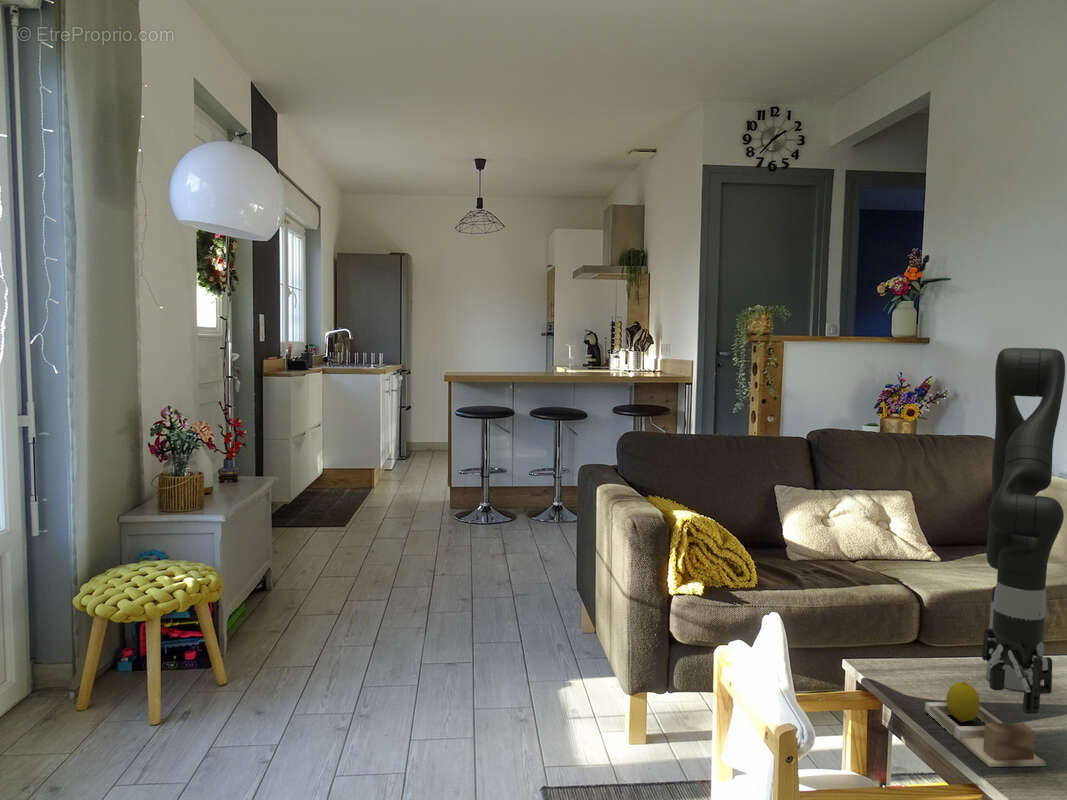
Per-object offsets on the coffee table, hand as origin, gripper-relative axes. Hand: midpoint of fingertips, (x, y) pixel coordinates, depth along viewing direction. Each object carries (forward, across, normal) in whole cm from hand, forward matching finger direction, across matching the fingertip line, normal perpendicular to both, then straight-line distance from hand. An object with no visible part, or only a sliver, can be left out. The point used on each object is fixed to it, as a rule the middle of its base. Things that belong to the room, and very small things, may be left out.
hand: (1012, 700), depth 134 cm
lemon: (+11, +13, 0) cm, 17 cm away
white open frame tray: (+11, +6, 0) cm, 12 cm away
